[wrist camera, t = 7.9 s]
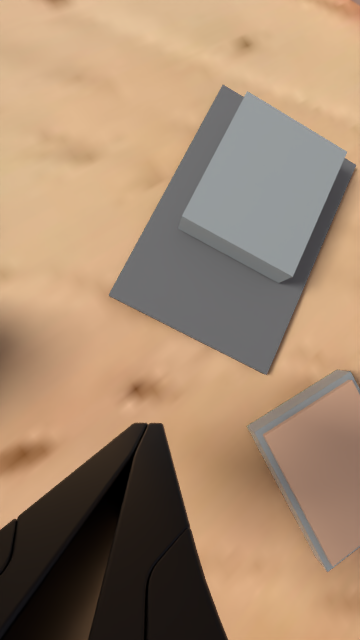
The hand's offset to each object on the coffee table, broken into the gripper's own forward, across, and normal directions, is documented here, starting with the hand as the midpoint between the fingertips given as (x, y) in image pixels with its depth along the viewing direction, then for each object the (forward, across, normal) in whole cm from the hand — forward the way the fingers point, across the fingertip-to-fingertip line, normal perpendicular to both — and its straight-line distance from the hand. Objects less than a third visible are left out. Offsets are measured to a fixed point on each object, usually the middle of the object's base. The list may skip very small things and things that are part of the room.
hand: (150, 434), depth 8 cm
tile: (+12, +4, +3) cm, 13 cm away
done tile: (+9, +10, -11) cm, 18 cm away
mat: (+15, +4, +4) cm, 17 cm away
